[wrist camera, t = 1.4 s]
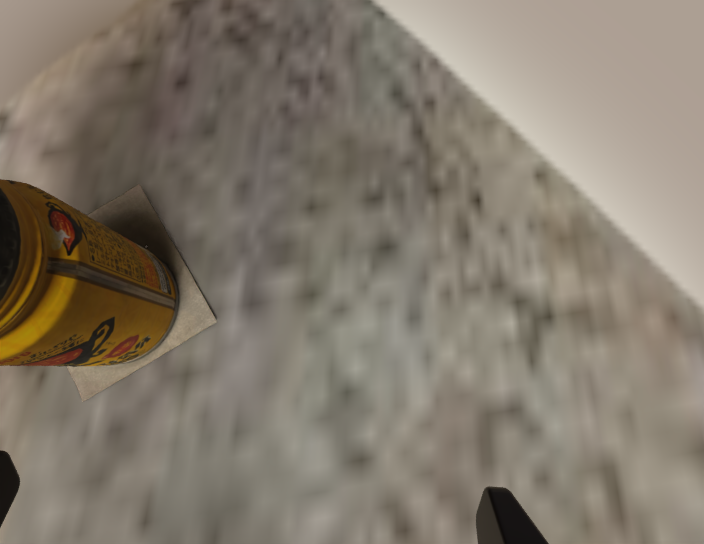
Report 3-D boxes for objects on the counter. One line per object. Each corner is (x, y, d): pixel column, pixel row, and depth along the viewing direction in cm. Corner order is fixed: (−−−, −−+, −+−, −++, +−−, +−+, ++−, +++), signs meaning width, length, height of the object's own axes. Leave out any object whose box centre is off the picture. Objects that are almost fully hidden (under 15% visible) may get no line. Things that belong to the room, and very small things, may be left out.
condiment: (85, 401, 23) (-201, 439, 11) (13, 256, 24) (-309, 148, 12) (218, 322, 23) (89, 276, 12) (142, 186, 25) (-43, 22, 13)
